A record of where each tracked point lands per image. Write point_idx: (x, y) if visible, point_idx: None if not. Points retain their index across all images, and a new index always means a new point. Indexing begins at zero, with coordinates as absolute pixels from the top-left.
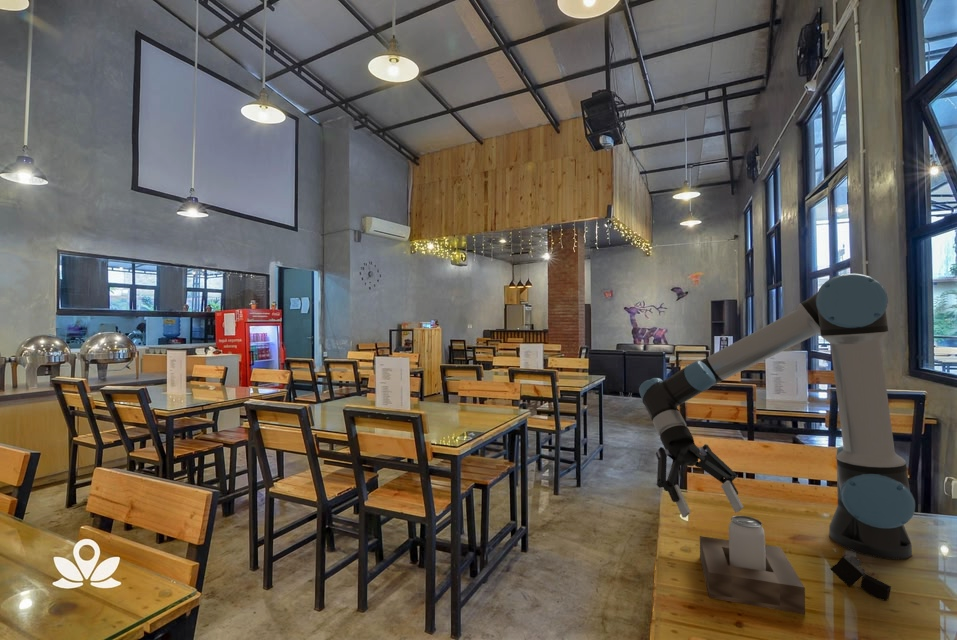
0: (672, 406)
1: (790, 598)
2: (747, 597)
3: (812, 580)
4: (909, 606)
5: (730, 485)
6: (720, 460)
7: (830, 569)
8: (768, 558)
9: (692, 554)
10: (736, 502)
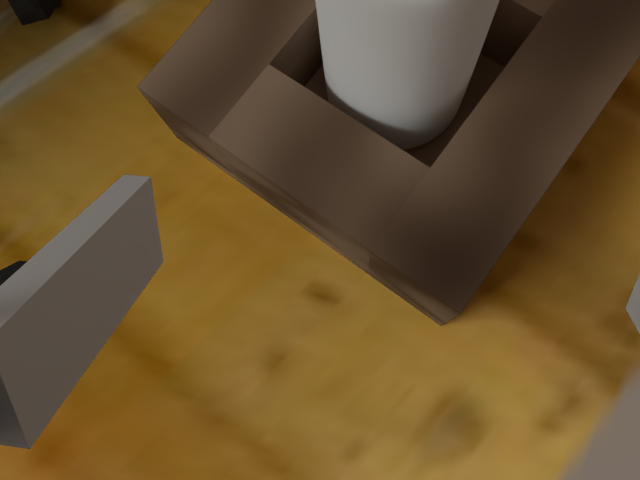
0: None
1: None
2: None
3: (137, 53)
4: None
5: (13, 293)
6: None
7: (49, 15)
8: (296, 20)
9: (454, 367)
10: (131, 220)
